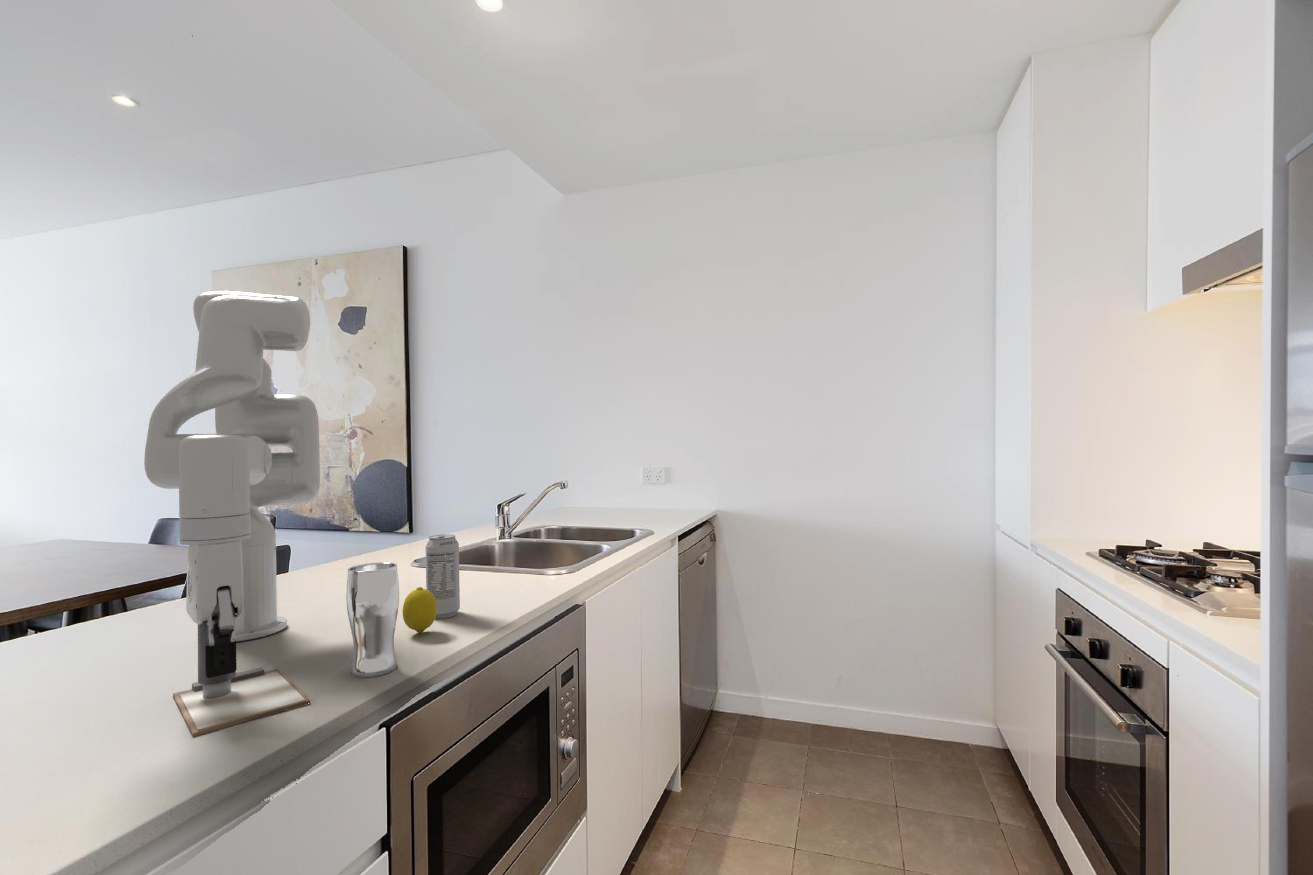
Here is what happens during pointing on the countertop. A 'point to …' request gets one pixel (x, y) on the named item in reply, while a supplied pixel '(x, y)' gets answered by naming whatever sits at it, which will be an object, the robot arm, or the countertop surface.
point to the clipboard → (239, 701)
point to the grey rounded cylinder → (210, 685)
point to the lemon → (419, 609)
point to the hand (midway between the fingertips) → (217, 668)
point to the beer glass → (373, 617)
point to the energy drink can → (443, 573)
